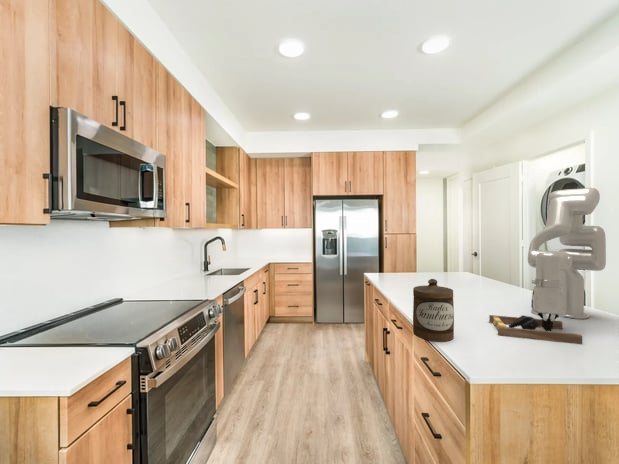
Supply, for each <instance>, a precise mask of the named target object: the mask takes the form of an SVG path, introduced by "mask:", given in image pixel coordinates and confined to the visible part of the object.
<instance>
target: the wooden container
mask: <svg viewBox="0 0 619 464" xmlns="http://www.w3.org/2000/svg"><path fill="white" fill-rule="evenodd" d="M427 283H428V285H417V286H414V287H413V288H412V289H413V294H412V295H413V305H412V308H413V310H412V333H413V335H414V336H415V337H417V338H419V339H421V340H425V341H428V342H429V341H430V342H440V343H441V342H442V343H443V342H449V341H452V340H453V339H454V337H455V335H454V334H455V332H454V331H455V330H454V329H455V312H454V311H455V310H454V290H453V289H452V288H449V287H445V286H440V285H438V280H437V279H435V278H430V279H428V280H427Z"/></svg>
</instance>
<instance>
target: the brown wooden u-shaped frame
mask: <svg viewBox="0 0 619 464" xmlns="http://www.w3.org/2000/svg"><path fill="white" fill-rule="evenodd" d="M488 316H489V317H488V318H489V320H488V321H489V323H490V324H493V326H494V327H495V328H496V330H497V335H498V336H500V337H501V336H502V337H511V338H519V339H520V338H521V339H528V340H529V339H532V340H537V341H539V340H540V341H541V340H542V341H549V342H560V343H568V344H569V343H570V344H578V345H583V335H582V334H581V333H572V332H571V333H570V332H562V331H552V330H553V329H554V330H563V324H564V323H563V321H561V320H556V319H555V320H554V321H553V329H552V330H551V331H546V330H538V329H535V330H530V329H523V328H521V327H520V328H518V327H514V328H509V325H510V324H511V323H512V322H513V321H515V320H516V319H517V318H519V317H520V316H518V317H517V316H505V315H504V316H503V315H496V314H495V315H493V314H489V315H488ZM534 319H535V320H536V322H537V323H538V327H537V328H543V327H542V318H541V319H540V318H534ZM513 323H514V322H513ZM513 323H512V324H513ZM507 325H508V327H507ZM543 329H544V328H543Z"/></svg>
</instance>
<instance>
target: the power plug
mask: <svg viewBox="0 0 619 464" xmlns="http://www.w3.org/2000/svg"><path fill="white" fill-rule="evenodd" d="M518 317H519V318H517V319H516V320H515V321H513V322H514V323H513V322H512V323H513V324H512V323H511V324H510V325H508V327H509V328H518V327H519V326H520V328H521V329H530V330H537V328H539V327H538V323H537V322H536V320H535V319H536V318H534V317H533V316H528V315H521V316H518Z"/></svg>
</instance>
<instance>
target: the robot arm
mask: <svg viewBox="0 0 619 464" xmlns="http://www.w3.org/2000/svg"><path fill="white" fill-rule="evenodd" d="M600 196H601V195H600V192H599V190H598V189H597V188H595V187H584V188H570V189H558V190H555V191H552V192H550V193H549V195H548V201H549V205H548V211H547V217H546V223H545V228H544V229H542V230H541V231H539V232H538V233H537V234H536V235H535V236H534V237H533V238H532V240H531V241H530V244H529V247H528V253H527V263H528V265H529V266H530V267H532V268H534V269H535V279H532V280H531V284H534V286H533V290H532V293H531V302H530V303H531V311H530V313H531V314H532V315H535V316H538V317H540V318H541V319H542V327H543V330H544V331H552V330H553V321H554V320H555V321H556V320H557V319H558V318H562V317H563V318H569V319H578V320H584V319H585V320H586V319H589V314H588V313H585V279H584V276H583V275H582V274H581V273H580V272H579V270H581V271H594V272H599V271H603V270H604V269H605V268H606V265H607V263H606V262H607V249H606V248H607V247H606V246H607V245H606V233H605V230H604V228H602V227H601V226H599V225H598V226H597V225H584V224H583V222H584V221H583V220H584V218H583V216H586V215H591V214H593V212H594V211H595V209H596V208H597V206H598V205H599V203H600V198H601V197H600ZM556 238H558V239H559V242H560V244H561V245H563V246H569V247H589V248H590V249H588V248H587V249H583V248H562V249H559V250H558V251H557V250H542V249H541V250H540V248H541V246H542V245H543V244H544V243H546V242H549V241H552V240H554V239H556ZM547 314H548V317H547Z"/></svg>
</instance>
